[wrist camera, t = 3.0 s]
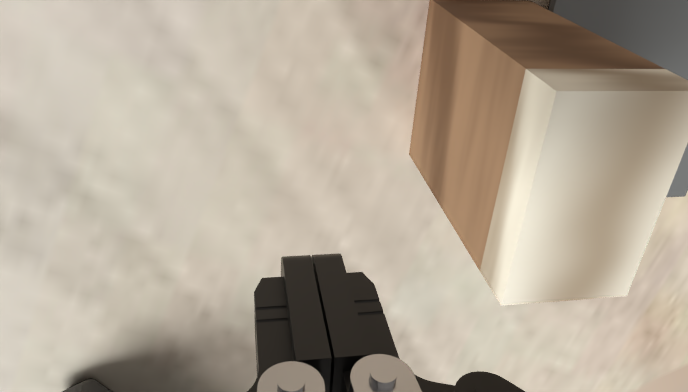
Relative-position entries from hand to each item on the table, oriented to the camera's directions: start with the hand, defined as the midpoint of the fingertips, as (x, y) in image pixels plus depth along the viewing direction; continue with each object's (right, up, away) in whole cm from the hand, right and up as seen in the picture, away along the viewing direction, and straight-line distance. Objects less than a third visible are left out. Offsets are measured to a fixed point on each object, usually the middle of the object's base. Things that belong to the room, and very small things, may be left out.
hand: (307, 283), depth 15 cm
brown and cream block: (+7, +8, +14) cm, 18 cm away
